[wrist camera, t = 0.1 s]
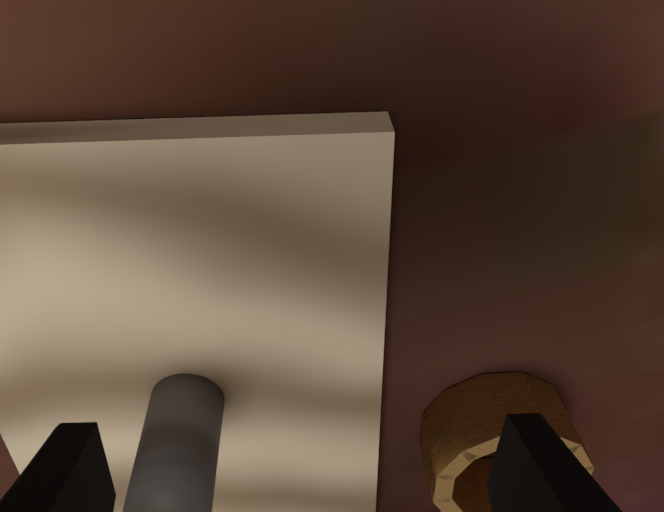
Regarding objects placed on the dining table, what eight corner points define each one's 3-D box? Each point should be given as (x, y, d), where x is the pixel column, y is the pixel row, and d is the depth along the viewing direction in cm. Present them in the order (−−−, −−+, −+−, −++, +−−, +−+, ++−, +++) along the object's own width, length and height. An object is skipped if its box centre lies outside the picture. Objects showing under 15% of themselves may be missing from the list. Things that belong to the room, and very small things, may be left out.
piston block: (370, 513, 29) (386, 651, 24) (71, 530, 29) (26, 675, 24) (387, 111, 18) (424, 216, 13) (-105, 126, 17) (-261, 242, 12)
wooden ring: (548, 464, 28) (573, 526, 26) (416, 472, 28) (428, 534, 25) (576, 368, 25) (608, 428, 22) (426, 376, 24) (441, 437, 22)
